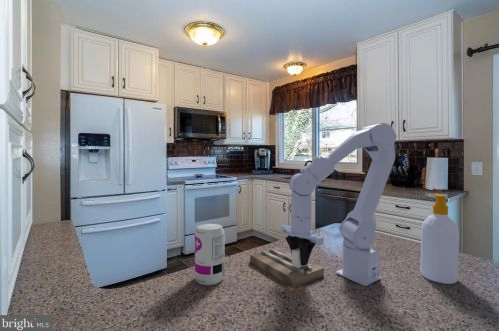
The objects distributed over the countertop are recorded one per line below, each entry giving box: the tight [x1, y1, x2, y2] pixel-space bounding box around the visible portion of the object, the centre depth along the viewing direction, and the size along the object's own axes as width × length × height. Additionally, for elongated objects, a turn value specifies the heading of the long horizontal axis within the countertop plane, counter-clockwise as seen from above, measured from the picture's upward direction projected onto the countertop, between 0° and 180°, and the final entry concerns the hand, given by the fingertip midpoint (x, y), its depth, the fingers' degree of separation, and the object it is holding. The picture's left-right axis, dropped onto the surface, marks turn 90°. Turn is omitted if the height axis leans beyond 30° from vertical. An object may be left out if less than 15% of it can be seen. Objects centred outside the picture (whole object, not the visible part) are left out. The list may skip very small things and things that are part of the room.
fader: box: [291, 248, 310, 270], centre depth 74 cm, size 3×4×5 cm
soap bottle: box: [419, 192, 460, 285], centre depth 74 cm, size 9×9×24 cm
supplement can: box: [194, 222, 226, 286], centre depth 72 cm, size 8×8×15 cm
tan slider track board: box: [249, 247, 325, 289], centre depth 79 cm, size 20×12×3 cm, turn 35°
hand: (300, 262), depth 74 cm, fingers closed on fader, 2 cm apart
